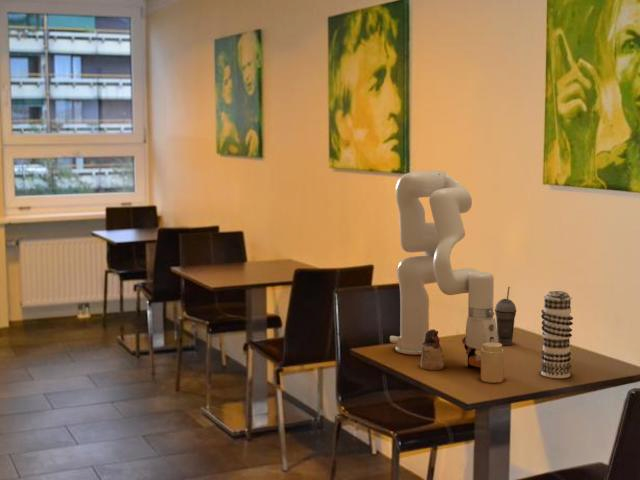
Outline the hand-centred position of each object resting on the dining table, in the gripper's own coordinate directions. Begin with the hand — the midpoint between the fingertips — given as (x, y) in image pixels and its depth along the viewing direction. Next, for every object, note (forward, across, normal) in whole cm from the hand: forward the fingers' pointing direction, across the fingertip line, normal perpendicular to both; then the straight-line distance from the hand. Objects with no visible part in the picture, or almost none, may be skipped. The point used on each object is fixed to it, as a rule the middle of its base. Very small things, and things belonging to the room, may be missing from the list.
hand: (480, 369), depth 274 cm
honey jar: (0, -10, +4) cm, 11 cm away
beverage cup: (0, +21, -30) cm, 36 cm away
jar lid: (-3, 0, 0) cm, 3 cm away
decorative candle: (0, -16, -15) cm, 22 cm away
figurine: (0, +10, +10) cm, 15 cm away
